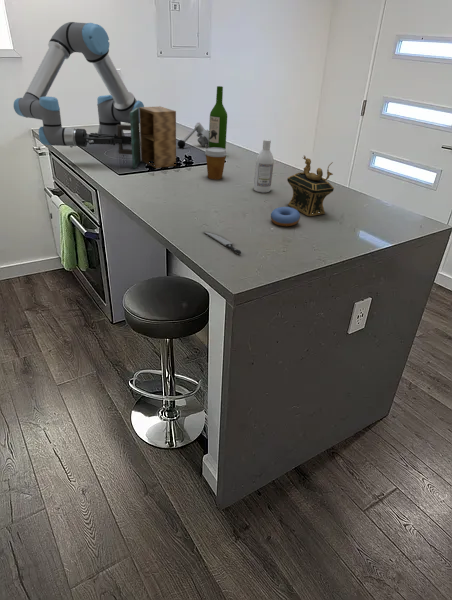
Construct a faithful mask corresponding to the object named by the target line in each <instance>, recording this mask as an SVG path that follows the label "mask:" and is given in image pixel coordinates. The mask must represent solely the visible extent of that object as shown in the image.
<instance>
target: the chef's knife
mask: <svg viewBox="0 0 452 600" xmlns="http://www.w3.org/2000/svg"><path fill="white" fill-rule="evenodd" d="M204 234H206V235H207V236H208V237H210V238H212V239H213V240H215V241H217V242H219V243H220V244H222V245H223V246H224V247H226V248H228V249H230V250H231V251H232V252H234V253H236V254H237V255H241V254H242V251H241V250H239V249H237V248H235V247H234V246H232V245H233V244H234V243H233V242H231V241H230V240H227V239H226V238H225V237H223V236H220V235H217V234H215V233H210V232H207V231H204Z"/></svg>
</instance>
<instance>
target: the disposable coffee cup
mask: <svg viewBox="0 0 452 600" xmlns="http://www.w3.org/2000/svg"><path fill="white" fill-rule="evenodd" d="M204 154H205V159H206V171H207V178H208V179H210V180H216V181H219V180H221V179H223V175H224V169H225V163H226V158H227V155H228V152H227V149H223V148H217V147H211V148H209V147H207V148H206V149H205V151H204Z"/></svg>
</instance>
